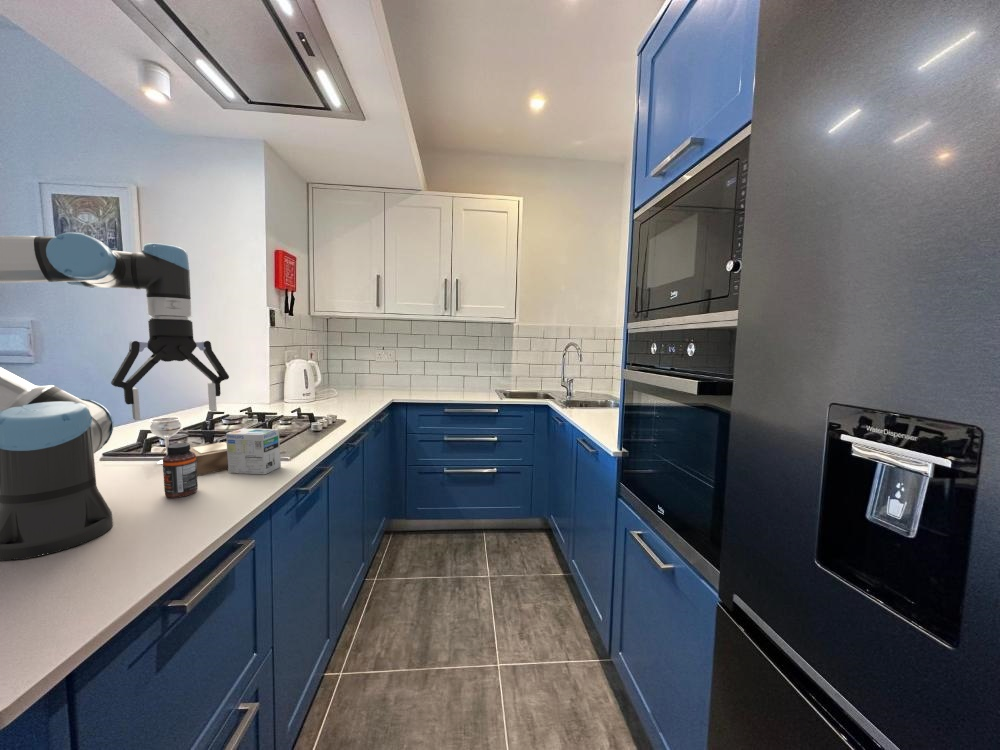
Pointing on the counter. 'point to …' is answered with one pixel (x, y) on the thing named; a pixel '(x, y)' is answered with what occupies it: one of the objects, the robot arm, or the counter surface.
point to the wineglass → (165, 429)
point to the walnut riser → (211, 457)
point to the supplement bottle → (179, 471)
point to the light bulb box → (253, 451)
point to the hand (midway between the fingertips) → (177, 414)
